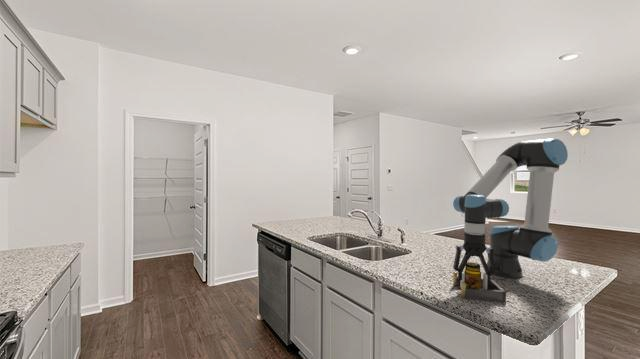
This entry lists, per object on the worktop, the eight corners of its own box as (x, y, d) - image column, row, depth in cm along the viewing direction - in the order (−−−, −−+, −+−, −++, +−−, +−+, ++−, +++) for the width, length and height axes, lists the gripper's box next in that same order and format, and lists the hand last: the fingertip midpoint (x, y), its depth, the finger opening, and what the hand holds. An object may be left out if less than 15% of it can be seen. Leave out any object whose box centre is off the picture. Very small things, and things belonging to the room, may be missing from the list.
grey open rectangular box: (491, 288, 121) (492, 274, 121) (506, 302, 107) (506, 287, 107) (452, 285, 124) (452, 271, 124) (461, 298, 111) (461, 283, 110)
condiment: (464, 295, 114) (465, 265, 113) (460, 287, 122) (460, 259, 122) (485, 297, 112) (485, 267, 112) (479, 289, 120) (479, 261, 120)
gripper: (498, 232, 117) (497, 287, 118) (445, 230, 121) (444, 283, 122) (506, 236, 110) (505, 295, 110) (449, 233, 114) (448, 290, 114)
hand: (473, 288), depth 116 cm, fingers open, 8 cm apart
